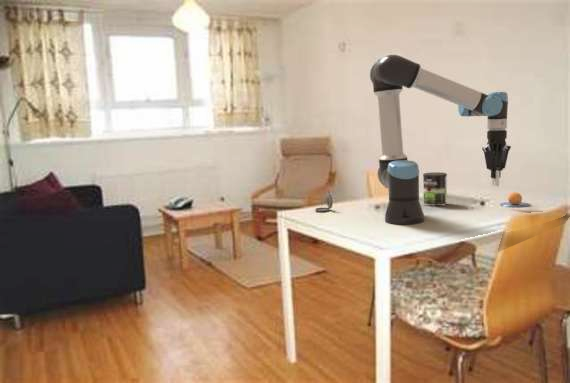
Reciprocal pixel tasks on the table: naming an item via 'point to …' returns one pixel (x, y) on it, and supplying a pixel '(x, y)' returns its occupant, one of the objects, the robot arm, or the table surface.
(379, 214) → the table surface
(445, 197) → the coffee can
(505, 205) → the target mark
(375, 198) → the table surface
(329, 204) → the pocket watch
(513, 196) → the ball
